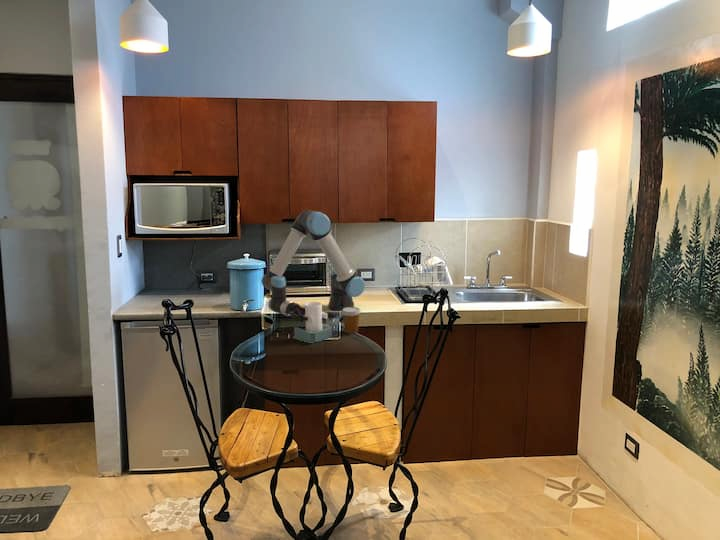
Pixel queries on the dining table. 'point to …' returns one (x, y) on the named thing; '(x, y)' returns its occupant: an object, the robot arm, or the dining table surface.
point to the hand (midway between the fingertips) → (320, 318)
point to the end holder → (314, 334)
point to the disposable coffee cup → (351, 319)
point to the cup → (314, 311)
